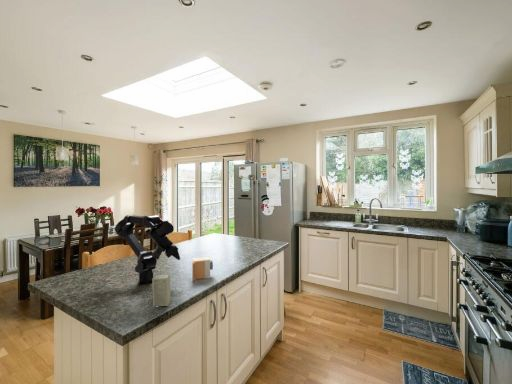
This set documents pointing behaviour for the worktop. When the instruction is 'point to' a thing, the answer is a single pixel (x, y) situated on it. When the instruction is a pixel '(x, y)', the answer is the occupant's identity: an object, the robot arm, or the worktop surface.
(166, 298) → the skincare box
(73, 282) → the worktop surface
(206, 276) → the block
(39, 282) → the worktop surface
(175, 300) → the worktop surface
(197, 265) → the orange l-shaped block
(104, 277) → the worktop surface
